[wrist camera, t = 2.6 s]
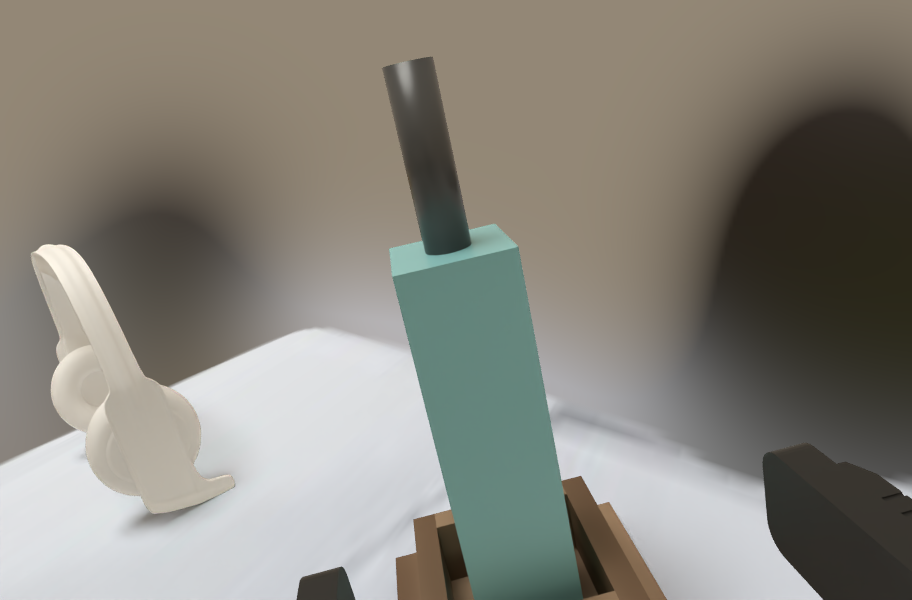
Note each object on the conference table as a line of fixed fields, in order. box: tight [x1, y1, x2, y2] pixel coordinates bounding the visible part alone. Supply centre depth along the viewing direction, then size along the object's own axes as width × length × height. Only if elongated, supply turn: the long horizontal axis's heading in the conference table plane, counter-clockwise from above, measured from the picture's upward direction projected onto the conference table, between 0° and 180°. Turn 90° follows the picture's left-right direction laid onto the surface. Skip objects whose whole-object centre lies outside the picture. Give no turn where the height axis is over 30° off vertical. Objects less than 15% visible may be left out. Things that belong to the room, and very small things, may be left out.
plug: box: [382, 57, 583, 600], centre depth 23 cm, size 4×4×22 cm
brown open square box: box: [396, 476, 667, 600], centre depth 26 cm, size 11×11×4 cm
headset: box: [31, 244, 235, 514], centre depth 45 cm, size 20×7×18 cm, turn 42°
